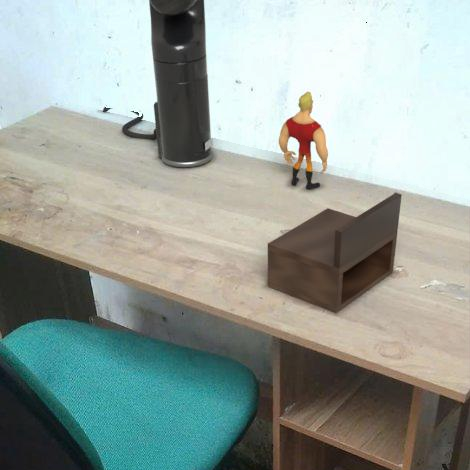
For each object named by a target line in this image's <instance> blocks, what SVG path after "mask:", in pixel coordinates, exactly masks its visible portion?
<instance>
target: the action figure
mask: <svg viewBox="0 0 470 470" xmlns="http://www.w3.org/2000/svg"><path fill="white" fill-rule="evenodd" d="M312 96H313V95H312V93H311V91H306V92H305V93H304V94H302V95H301V96H300V97H299V98H298V103H297V105H298V108H299V111H298V112H296V114H295V115H294V116H291V117H289V118H287V120H285V122H283V124H282V126H281V129H280V131H279V136H278V146H279V148H280V150H281V152H282V153H284V154H283V159H284V161H285V163H286V164H287V165H288V166H292V165H293V164H294V165H293V167H292V173H291V175H292V179H291V184H290V185H291V186H292V187H293V186H294V187H295V186H297V184H298V182H299V181H300V178H299V177H298V174H299V172H300V170H301V166H302V163H303V161H304V158H305V162H306V167H305V172H304V173H305V178H306V179H305V180H306V186H305V189H306V190H312V189H317V188H320V186H321V184H320V182H314V183H313V182H312V180H313V179H312V178H313V173H314V172H313V170H314V169H313V163H312V142H313V143H315V151H316V153H317V155H318V157H319V158H320V160H321V164H322V170H320V172H319V173H320V174H323V173H324V172H325V171H326V169H327V168H328V161H327V160H328V157H329V150H328V148H327V138H326V133H325V130H324V129H323V127H322V125H321V124H320V123H319V122H317V121H316V120H315V119H314V118H312V117H311V113H312V111H313V105H314V100H313V97H312ZM290 138H293V139H295V140H296V141H297V142H298V157H297V162H296V163H295V162H294V161H296V158H295V157H294V156H296V155H297V153H295V151H293V150H288V149H289V148H288V143H289V140H290Z"/></svg>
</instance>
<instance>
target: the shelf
mask: <svg viewBox="0 0 470 470" xmlns="http://www.w3.org/2000/svg"><path fill="white" fill-rule="evenodd" d="M402 195H403V194H401V193H398V192H394V193H392V194H391V195H390V196H388V197H386V198H385V199H383V200H382V201H379V203H377V204H375V205H373V206H372V207H370V208H369V209H367V210H365V211H363V212H362V213H361V214H359V215H357V216H354V215H351V214H347V213H345V212H342V211H338V210H335V209H332V208H328V207H327V208H326V209H324V210H322V211H321V212H319V213H317V214H315V215H313V216H312V217H310V218H308V219H306V220H305V221H304V222H302V223H300V224H298V225H297V226H295V227H293V228H292V229H290V230H289V231H287V232H285V233H284V234H281V235H280V236H278V237H277V238H275V239H273V240H272V241H270V242H268V243H267V287H268V288H270V289H273V290H276V291H278V292H281V293H282V294H283V293H284V294H286V295H288V296H292V297H294V298H296V299H299V300H301V301H304V302H307V303H309V304H312V305H314V306H317V307H320V308H322V309H325V310H327V311H330V312H332V313H335V314H337V313H340V311H342V310H343V309H345V308H346V307H347V306H349V305H350V304H351V303H353V302H354V301H356V300H357V299H358V298H360V297H362V296H363V295H364V294H366V293H367V292H369V291H370V290H371V289H372V288H374V287H375V286H377V285H378V284H380V283H381V282H382V281H383V280H385V279H387V278H388V277H389V276H391V275H392V274H393V273H394V266H395V258H396V248H397V239H398V233H399V231H398V229H399V221H400V215H401V214H400V213H401V205H402V197H403V196H402Z"/></svg>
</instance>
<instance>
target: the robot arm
mask: <svg viewBox="0 0 470 470" xmlns="http://www.w3.org/2000/svg"><path fill="white" fill-rule="evenodd" d="M148 4H149V5H148V6H149V13H150V15H149V16H150V43H151V44H150V45H151V55H152V62H153V73H154V82H155V83H154V84H155V93H156V101H155V102H154V104H153V112H154V114H153V115H154V123H155V128H154V129H153V133H152V134H151V133H149V134H148V133H138V132H134V131H132V130H129V128H131V127H132V126H134V125H136V124H138V123H139V122H142V120H143V118H144V114H143V113H142V116H141V117H138V116H139V113H138V112H134V111H130V113H131V112H132V113H133V114H134V115H136V116H137V117H135V118H134V119H132V120H130V121H128V122H126V123H125V124H124V125H123V126H122V128H121V130H122V133H124V134H125V135H126V136H128V137H130V138H134V139H140V140H141V139H143V140H155V139H156V143H157V151H158V158H159V159H161V160H162V163H164V164H165V165H168V166H170V167H173V168H193V167H198V166H202V165H205V164H207V163H209V162H210V161H211V160H212V159H213V149H212V146H213V143H214V141H213V137H212V131H211V130H212V129H211V114H210V93H209V78H208V77H209V76H208V60H207V58H208V57H207V36H206V34H207V33H206V31H207V29H206V13H205V11H206V9H205V0H148ZM366 23H367V22H366ZM111 109H112V108H106V107H105V106H104V107H103V108H102V113H108V111H110V110H111Z"/></svg>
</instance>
